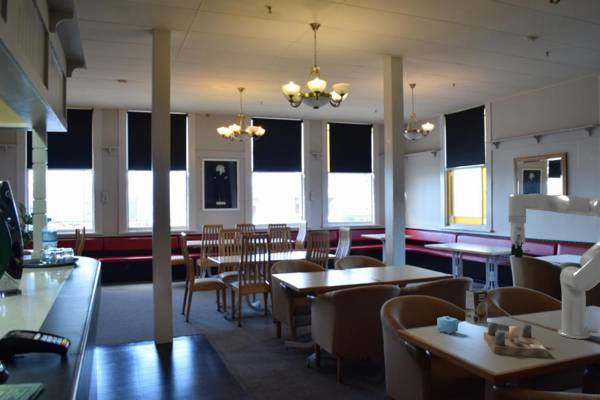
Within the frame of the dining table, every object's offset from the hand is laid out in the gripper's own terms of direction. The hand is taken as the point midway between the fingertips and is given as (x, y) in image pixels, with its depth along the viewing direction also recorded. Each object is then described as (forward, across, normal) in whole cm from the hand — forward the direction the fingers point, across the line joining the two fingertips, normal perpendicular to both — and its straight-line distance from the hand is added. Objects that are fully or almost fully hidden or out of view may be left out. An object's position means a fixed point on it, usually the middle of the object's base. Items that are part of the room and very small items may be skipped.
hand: (516, 256), depth 213 cm
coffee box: (+36, +14, +16) cm, 42 cm away
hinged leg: (+33, -27, +4) cm, 43 cm away
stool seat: (+36, -24, +4) cm, 44 cm away
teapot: (+37, -10, +30) cm, 48 cm away
